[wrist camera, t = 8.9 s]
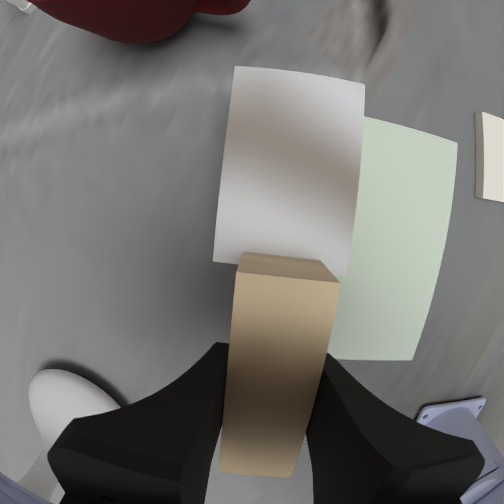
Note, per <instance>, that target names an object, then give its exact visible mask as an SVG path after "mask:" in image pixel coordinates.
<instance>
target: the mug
mask: <svg viewBox="0 0 504 504" xmlns="http://www.w3.org/2000/svg"><path fill="white" fill-rule="evenodd" d="M27 1H29V2H30V3H32V4H33V5H35V6H36V7H38V8H39V9H41V10H42V11H44V12H45V13H47V14H49V15H50V16H52V17H54V18H56V19H58V20H60V21H62V22H64V23H67V24H70V25H73V26H76V27H79V28H81V29H84V30H87V31H90V32H92V33H95V34H98V35H100V36H103V37H105V38H108V39H111V40H114V41H117V42H122V43H148V42H156V41H160V40H163V39H166V38H168V37H170V36H172V35H174V34H175V33H177V32H178V31H179V30H180V29H181V28H182V27H183V26H184V25H185V23H186V22H187V20H188V19H189V18H190V16H191V15H192V14H193V12H201V13H207V14H214V15H230V14H234V13H237V12H240V11H241V10H243V9H244V8H245V7H246V6H247V5H248V3H249V2H250V1H251V0H27Z"/></svg>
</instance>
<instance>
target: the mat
mask: <svg viewBox="0 0 504 504" xmlns="http://www.w3.org/2000/svg"><path fill="white" fill-rule="evenodd" d="M457 144H458V143H456V142H453V141H450V140H447V139H444V138H441V137H438V136H435V135H432V134H428V133H425V132H422V131H419V130H415V129H412V128H408V127H405V126H401V125H397V124H393V123H390V122H386V121H382V120H377V119H373V118H369V117H365V116H364V123H363V140H362V153H361V165H360V176H359V186H358V196H357V204H356V213H355V220H354V228H353V235H352V242H351V249H350V255H349V261H348V268H347V273H346V276H339V275H334V276H335V277H336V278H337V279H338V280H339V282H340V283H341V285H340V291H339V296H338V301H337V307H336V312H335V317H334V322H333V326H332V331H331V336H330V340H329V345H328V349H327V353H329V354H330V355H331V356H333V357H334V358H335V359H346V360H412V359H413V356H414V353H415V351H416V348H417V345H418V342H419V339H420V336H421V333H422V330H423V327H424V324H425V321H426V318H427V314H428V311H429V308H430V304H431V301H432V297H433V293H434V290H435V286H436V282H437V278H438V274H439V270H440V265H441V261H442V256H443V252H444V247H445V242H446V236H447V231H448V225H449V219H450V213H451V206H452V199H453V191H454V182H455V172H456V160H457Z"/></svg>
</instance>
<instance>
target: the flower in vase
mask: <svg viewBox="0 0 504 504" xmlns="http://www.w3.org/2000/svg"><path fill="white" fill-rule="evenodd" d="M29 402H30V408H31V412H32V415H33V418H34V421H35V423H36V426H37V428H38V431H39V434H40V436H41V440H42V450H41V453H40V455H39V457H38V459H37V460H36V462H35V464H34V465H33V466H32V468H31V469H30V470H29V472H28V473H27V474H26V475H25V476H24V477H23V478H22V479H21V480H20V481H19V482H18V483H17V484H19V485H21V486H22V487H24V488H26V489H27V490H29V491H31V492H33V493H34V494H36V495H38V496H40V497H41V498H43V499H45V500H47V501H49V500H50V497H51V495H52V492H53V490H54V488H55V486H56V484H57V482H58V480H57V478H56V477H55V475H54V473H53V471H52V470H51V467H50V465H49V463H48V460H47V453H48V451H49V450H50V448H51V447H52V446H53V444H54V443H55V441H56V440H57V438H58V437H59V436H60V434H61V433H62V431H63V430H64V429H65V427H66V426H67V425H68V424H69V423H70V422H71V421H72V420H73V419H74V418H80V417H85V416H91V415H96V414H101V413H105V412H109V411H112V410H115V409H119V408H121V407H120V406H119V405H118V404H117V403H116V402H115V401H114V400H113V399H112V398H111V397H110V396H109V395H108V394H107V393H105V392H104V391H103V390H102V389H100V388H99V387H98V386H96V385H95V384H93V383H92V382H90V381H88V380H86V379H85V378H83V377H81V376H79V375H77V374H74V373H71V372H68V371H64V370H58V369H45V370H41V371H39V372H37V373H36V374H35V375H34V377H33V378H32V381H31V384H30V387H29Z"/></svg>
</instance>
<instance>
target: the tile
mask: <svg viewBox="0 0 504 504" xmlns="http://www.w3.org/2000/svg"><path fill="white" fill-rule="evenodd" d="M475 128H476V187H475V197H477V198H483V199H488V200H494V201H499V202H504V120H503V119H501V118H498V117H495V116H493V115H490V114H487V113H484V112H479V113H475Z"/></svg>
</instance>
